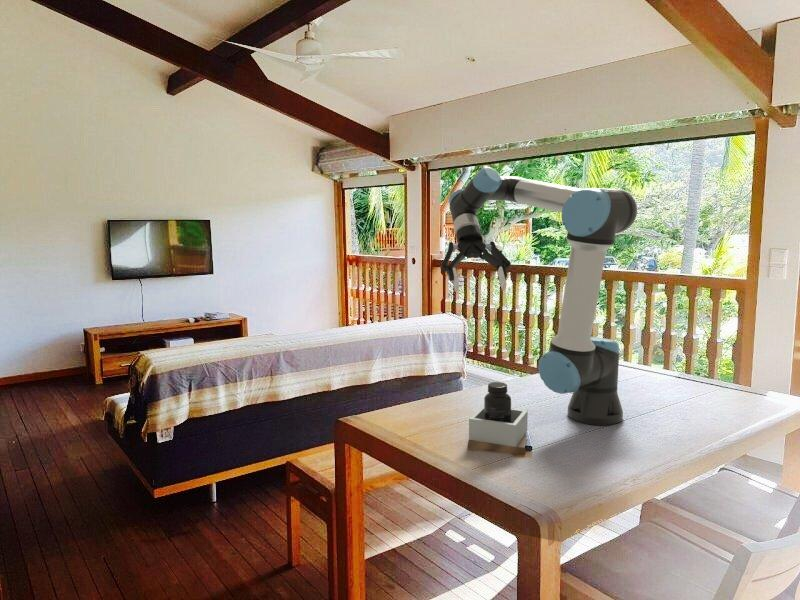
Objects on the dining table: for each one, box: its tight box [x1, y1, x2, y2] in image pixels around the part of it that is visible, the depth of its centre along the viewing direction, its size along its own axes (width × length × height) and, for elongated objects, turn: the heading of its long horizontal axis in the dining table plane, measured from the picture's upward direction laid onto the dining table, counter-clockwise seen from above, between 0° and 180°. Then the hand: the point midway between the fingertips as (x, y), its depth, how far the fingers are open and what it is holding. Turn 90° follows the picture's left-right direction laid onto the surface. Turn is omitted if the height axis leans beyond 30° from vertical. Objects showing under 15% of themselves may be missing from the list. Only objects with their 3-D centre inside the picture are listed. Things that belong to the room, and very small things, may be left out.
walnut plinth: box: [467, 431, 528, 455], centre depth 154 cm, size 14×14×2 cm
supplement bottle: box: [483, 381, 512, 423], centre depth 152 cm, size 7×7×12 cm
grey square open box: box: [468, 404, 529, 447], centre depth 153 cm, size 12×12×6 cm
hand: (480, 288), depth 166 cm, fingers open, 13 cm apart
